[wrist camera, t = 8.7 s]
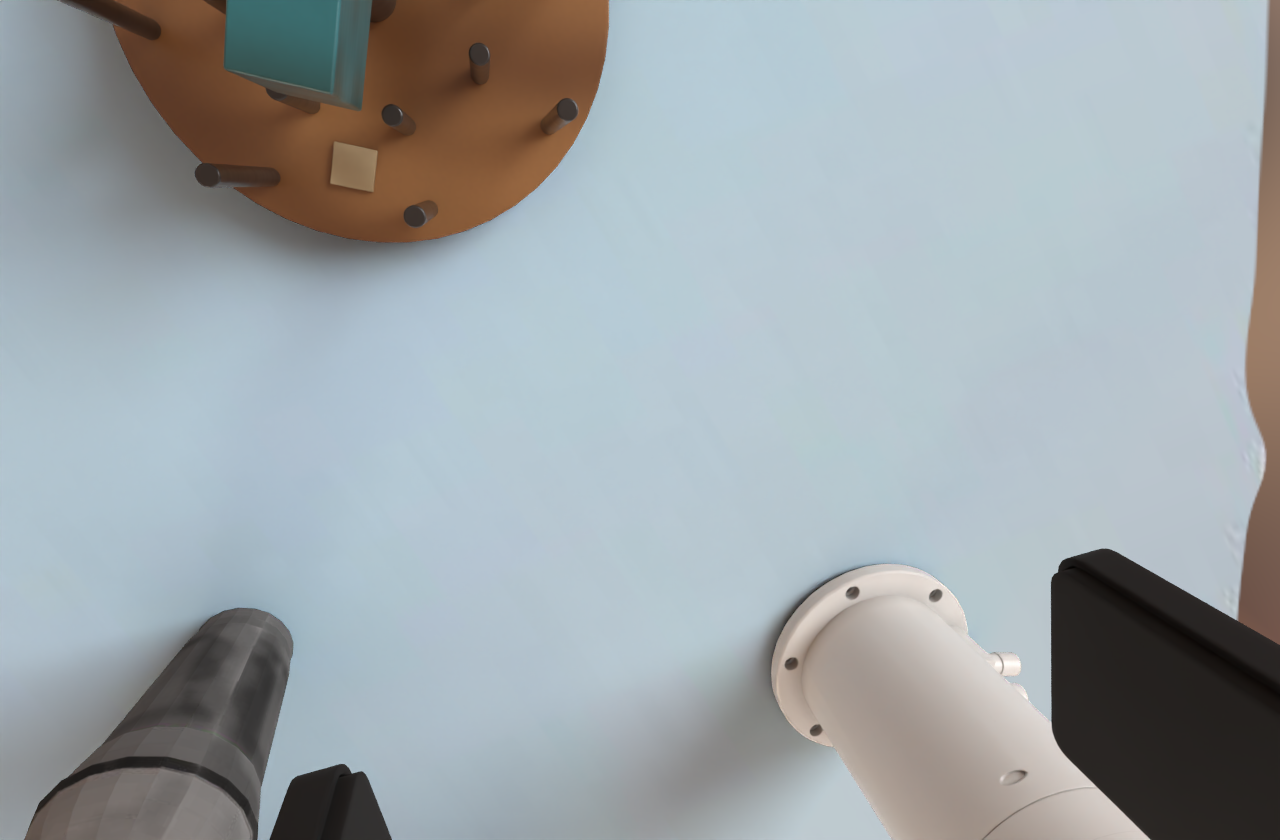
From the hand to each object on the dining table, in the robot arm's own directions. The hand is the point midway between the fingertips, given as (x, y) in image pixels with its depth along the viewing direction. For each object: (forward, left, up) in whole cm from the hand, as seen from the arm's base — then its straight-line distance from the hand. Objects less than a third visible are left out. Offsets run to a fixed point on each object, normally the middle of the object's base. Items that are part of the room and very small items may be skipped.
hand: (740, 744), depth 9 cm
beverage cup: (+13, +18, -27) cm, 35 cm away
